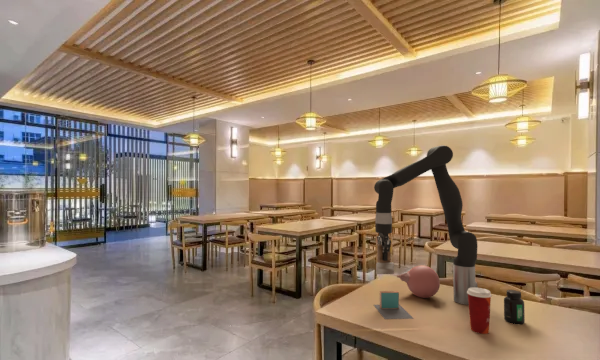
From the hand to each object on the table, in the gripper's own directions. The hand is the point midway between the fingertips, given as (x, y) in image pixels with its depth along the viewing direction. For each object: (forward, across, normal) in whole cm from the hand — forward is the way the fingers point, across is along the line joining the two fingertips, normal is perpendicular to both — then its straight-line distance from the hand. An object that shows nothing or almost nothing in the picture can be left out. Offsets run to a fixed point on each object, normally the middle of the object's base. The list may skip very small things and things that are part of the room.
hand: (383, 259), depth 148 cm
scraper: (+6, 0, 0) cm, 6 cm away
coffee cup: (+21, -30, -27) cm, 45 cm away
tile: (+20, -8, 0) cm, 21 cm away
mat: (+20, -12, 0) cm, 23 cm away
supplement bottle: (+20, -22, -46) cm, 55 cm away
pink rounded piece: (+21, +8, -20) cm, 30 cm away
